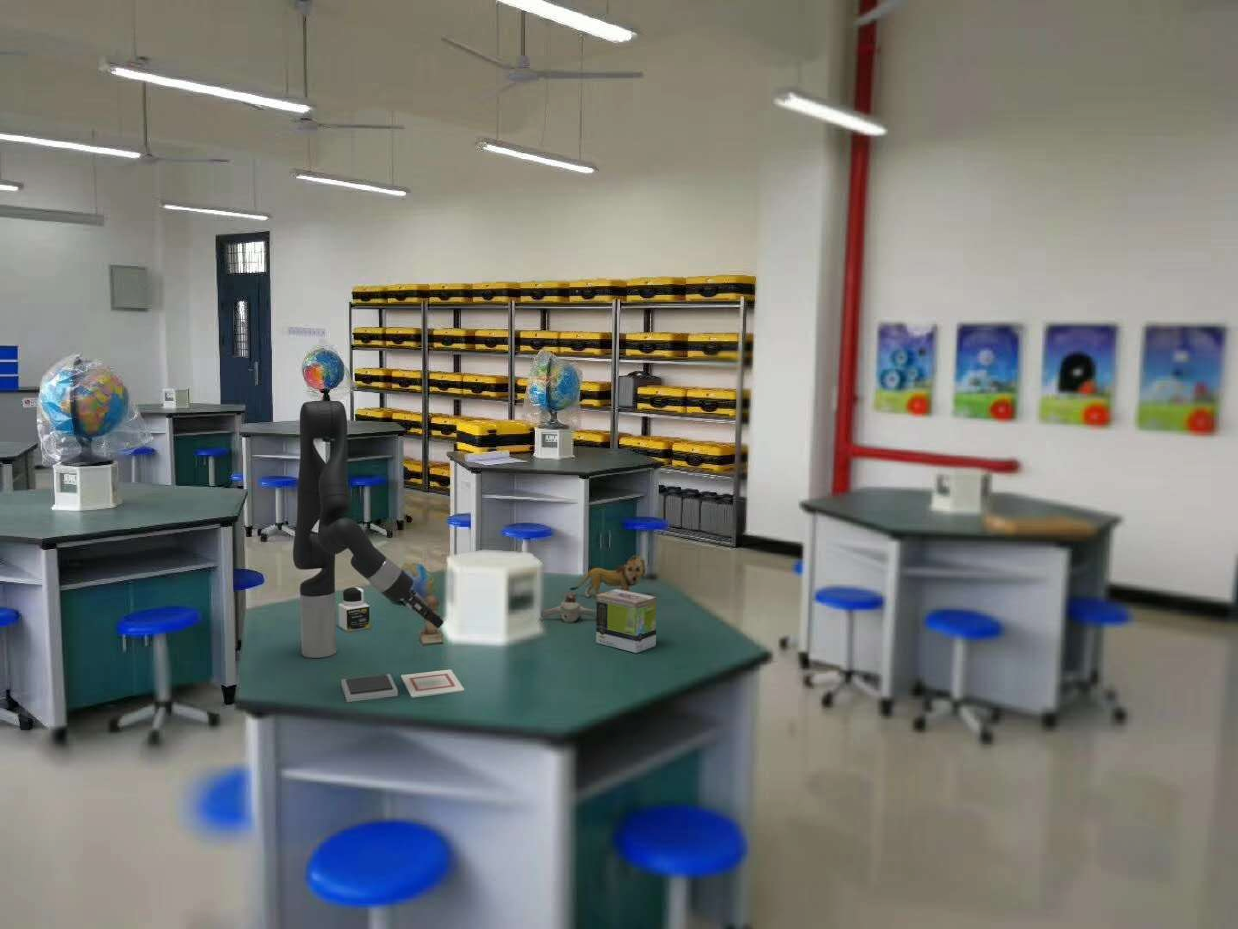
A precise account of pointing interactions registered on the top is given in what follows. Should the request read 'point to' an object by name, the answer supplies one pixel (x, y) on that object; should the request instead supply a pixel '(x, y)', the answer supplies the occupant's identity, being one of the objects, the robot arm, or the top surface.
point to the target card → (432, 683)
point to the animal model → (615, 576)
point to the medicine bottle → (353, 610)
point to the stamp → (431, 625)
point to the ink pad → (369, 688)
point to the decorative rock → (420, 579)
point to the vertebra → (569, 609)
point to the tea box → (626, 620)
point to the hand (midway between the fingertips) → (439, 622)
